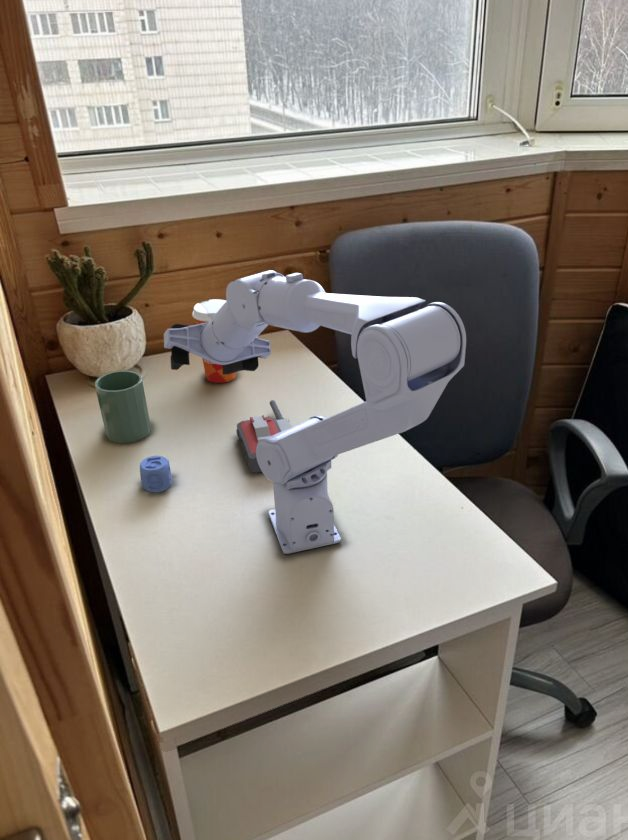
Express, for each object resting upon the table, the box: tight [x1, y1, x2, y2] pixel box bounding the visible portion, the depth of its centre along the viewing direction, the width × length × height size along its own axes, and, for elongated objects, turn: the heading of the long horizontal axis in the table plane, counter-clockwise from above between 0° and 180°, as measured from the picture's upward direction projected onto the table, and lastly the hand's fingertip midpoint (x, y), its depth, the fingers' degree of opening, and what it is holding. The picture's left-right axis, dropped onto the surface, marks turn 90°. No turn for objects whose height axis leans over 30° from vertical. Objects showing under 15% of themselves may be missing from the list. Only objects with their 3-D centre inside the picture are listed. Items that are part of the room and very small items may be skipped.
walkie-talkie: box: [236, 399, 292, 474], centre depth 117 cm, size 9×4×20 cm
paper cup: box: [191, 298, 237, 384], centre depth 133 cm, size 8×8×14 cm
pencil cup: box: [94, 370, 152, 444], centre depth 118 cm, size 7×7×10 cm
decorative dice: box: [139, 455, 173, 493], centre depth 107 cm, size 4×4×4 cm
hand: (199, 365), depth 105 cm, fingers open, 7 cm apart
